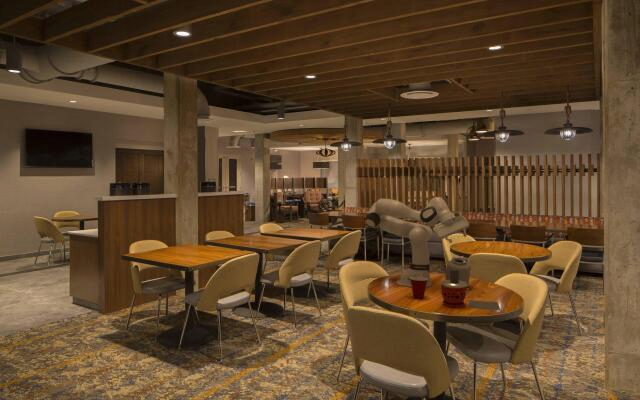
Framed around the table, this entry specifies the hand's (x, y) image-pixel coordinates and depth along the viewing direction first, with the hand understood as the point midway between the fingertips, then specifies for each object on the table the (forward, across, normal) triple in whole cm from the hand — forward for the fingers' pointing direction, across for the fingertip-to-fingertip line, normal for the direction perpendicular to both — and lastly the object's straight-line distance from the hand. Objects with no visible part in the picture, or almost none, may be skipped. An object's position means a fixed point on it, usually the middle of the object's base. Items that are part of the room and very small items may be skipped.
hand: (458, 239), depth 271 cm
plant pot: (+34, -22, -2) cm, 41 cm away
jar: (+19, -7, +36) cm, 41 cm away
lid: (+25, -17, -8) cm, 31 cm away
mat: (+40, -6, +1) cm, 41 cm away
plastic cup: (+20, -36, +9) cm, 42 cm away
